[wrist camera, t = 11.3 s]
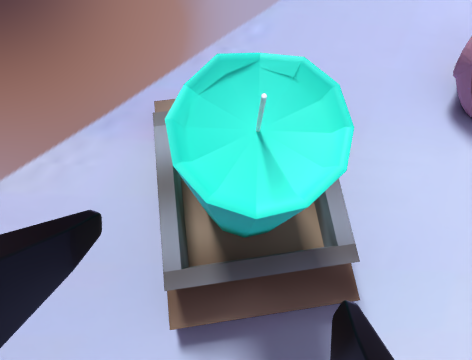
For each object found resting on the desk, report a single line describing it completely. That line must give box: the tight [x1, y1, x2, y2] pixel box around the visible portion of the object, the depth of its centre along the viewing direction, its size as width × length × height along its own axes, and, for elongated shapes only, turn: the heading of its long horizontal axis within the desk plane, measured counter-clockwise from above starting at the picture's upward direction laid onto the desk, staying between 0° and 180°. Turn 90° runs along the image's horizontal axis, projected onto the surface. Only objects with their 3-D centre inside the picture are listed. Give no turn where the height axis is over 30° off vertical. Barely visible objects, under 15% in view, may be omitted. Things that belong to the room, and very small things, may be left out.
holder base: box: [153, 99, 360, 330], centre depth 18 cm, size 16×12×4 cm
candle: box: [165, 53, 354, 238], centre depth 13 cm, size 6×6×12 cm
